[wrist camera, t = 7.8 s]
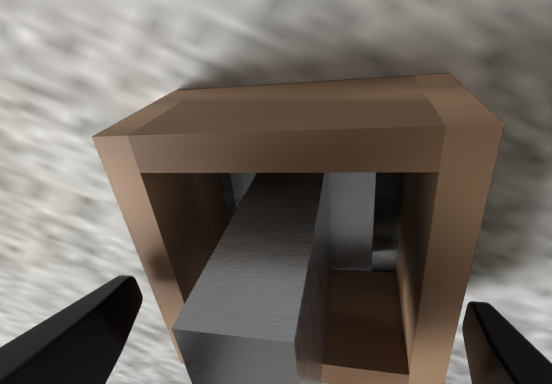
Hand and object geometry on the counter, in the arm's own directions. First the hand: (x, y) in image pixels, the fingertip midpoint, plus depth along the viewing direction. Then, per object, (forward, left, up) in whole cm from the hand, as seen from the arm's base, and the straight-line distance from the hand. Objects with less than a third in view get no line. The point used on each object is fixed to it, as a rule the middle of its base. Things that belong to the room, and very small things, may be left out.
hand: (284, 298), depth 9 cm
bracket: (0, 0, -5) cm, 5 cm away
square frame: (0, 0, -5) cm, 5 cm away
